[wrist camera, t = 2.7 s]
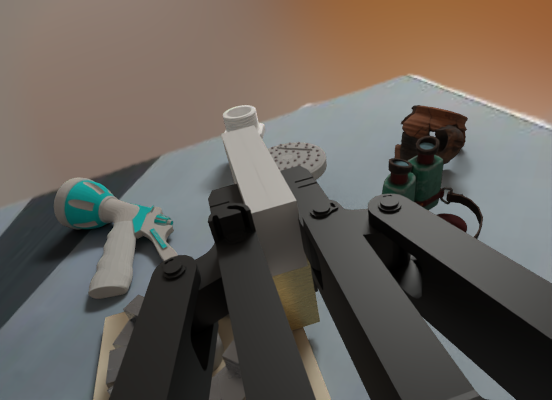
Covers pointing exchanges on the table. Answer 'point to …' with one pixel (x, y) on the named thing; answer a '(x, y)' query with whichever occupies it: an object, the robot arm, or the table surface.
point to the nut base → (224, 336)
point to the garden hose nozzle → (112, 231)
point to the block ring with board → (228, 381)
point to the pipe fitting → (242, 119)
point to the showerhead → (300, 157)
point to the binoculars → (426, 182)
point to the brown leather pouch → (435, 120)
